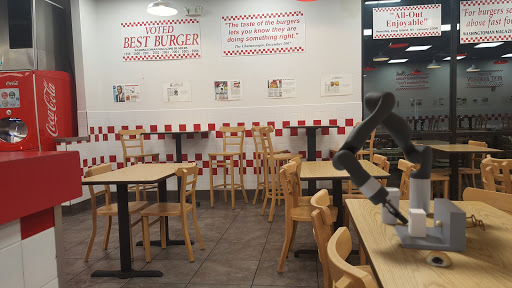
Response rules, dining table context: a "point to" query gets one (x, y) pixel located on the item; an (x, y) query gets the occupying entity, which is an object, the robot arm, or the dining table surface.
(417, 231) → the white box
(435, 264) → the pastry
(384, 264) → the dining table surface
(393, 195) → the coffee cup
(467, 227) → the glasses
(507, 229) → the dining table surface
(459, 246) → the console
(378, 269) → the dining table surface
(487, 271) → the dining table surface
